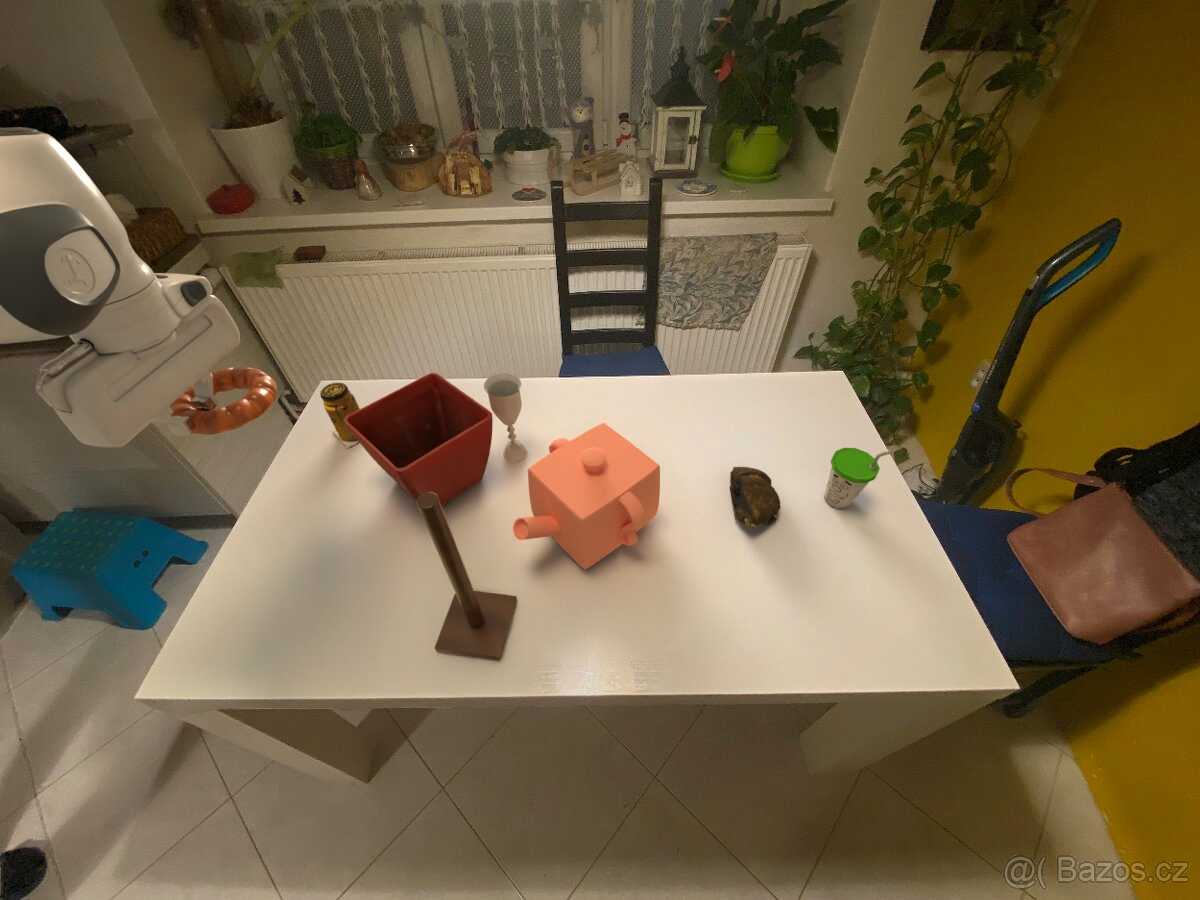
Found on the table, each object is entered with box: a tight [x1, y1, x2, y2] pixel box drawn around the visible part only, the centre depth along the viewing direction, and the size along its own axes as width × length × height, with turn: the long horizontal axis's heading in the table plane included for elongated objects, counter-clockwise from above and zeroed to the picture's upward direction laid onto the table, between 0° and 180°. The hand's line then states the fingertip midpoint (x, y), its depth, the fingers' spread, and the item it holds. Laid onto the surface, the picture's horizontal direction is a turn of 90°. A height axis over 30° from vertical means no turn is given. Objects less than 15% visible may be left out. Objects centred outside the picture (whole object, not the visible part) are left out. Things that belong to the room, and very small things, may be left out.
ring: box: [170, 366, 277, 436], centre depth 63 cm, size 12×12×3 cm
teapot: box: [512, 422, 661, 570], centre depth 85 cm, size 25×23×18 cm
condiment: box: [319, 382, 361, 449], centre depth 107 cm, size 7×8×12 cm
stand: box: [415, 492, 518, 662], centre depth 69 cm, size 10×10×32 cm
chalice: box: [483, 372, 528, 463], centre depth 100 cm, size 7×7×18 cm
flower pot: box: [344, 372, 494, 507], centre depth 95 cm, size 19×19×17 cm
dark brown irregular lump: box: [729, 466, 781, 529], centre depth 94 cm, size 16×9×7 cm, turn 178°
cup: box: [823, 447, 893, 510], centre depth 91 cm, size 8×8×15 cm
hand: (198, 420), depth 60 cm, fingers closed on ring, 3 cm apart
